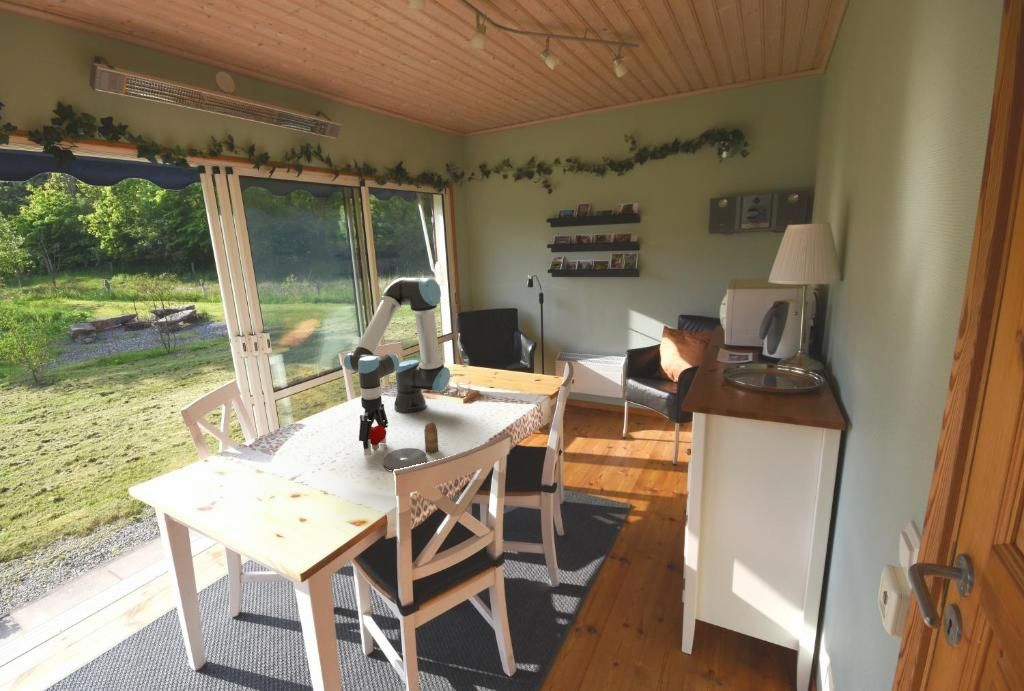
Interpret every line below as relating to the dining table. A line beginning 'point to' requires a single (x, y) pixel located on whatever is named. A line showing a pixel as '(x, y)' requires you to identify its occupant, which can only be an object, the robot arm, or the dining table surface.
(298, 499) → the dining table surface
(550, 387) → the dining table surface
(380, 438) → the red heart
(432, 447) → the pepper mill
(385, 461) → the disc
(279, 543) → the dining table surface
